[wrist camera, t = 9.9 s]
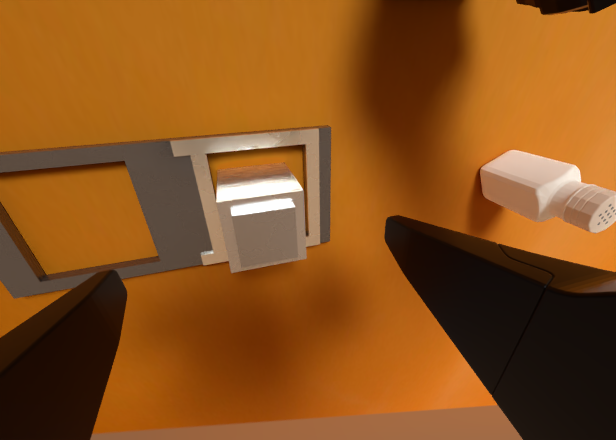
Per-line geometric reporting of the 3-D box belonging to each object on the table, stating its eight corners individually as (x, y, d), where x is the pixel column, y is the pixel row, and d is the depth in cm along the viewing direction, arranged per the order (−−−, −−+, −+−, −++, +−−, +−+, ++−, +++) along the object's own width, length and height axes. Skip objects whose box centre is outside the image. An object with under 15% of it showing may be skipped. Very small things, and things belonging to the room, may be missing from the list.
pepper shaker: (513, 179, 29) (627, 220, 21) (480, 198, 29) (581, 247, 21) (511, 146, 27) (637, 177, 18) (476, 167, 27) (587, 207, 18)
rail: (327, 125, 21) (331, 127, 20) (327, 236, 26) (330, 242, 25) (-74, 158, 15) (-91, 163, 15) (21, 291, 20) (12, 300, 19)
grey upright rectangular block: (284, 162, 21) (306, 194, 16) (288, 218, 24) (308, 263, 18) (217, 169, 20) (216, 206, 15) (229, 228, 23) (231, 278, 17)
